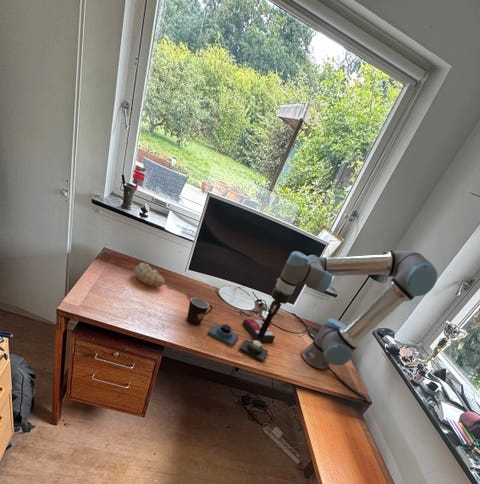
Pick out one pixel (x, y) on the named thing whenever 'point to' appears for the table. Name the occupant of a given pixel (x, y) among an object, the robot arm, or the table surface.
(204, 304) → the coffee mug
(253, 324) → the calculator
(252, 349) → the black key block
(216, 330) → the blue key block
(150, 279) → the nautilus
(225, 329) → the dark key
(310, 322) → the table surface
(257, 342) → the cream key
